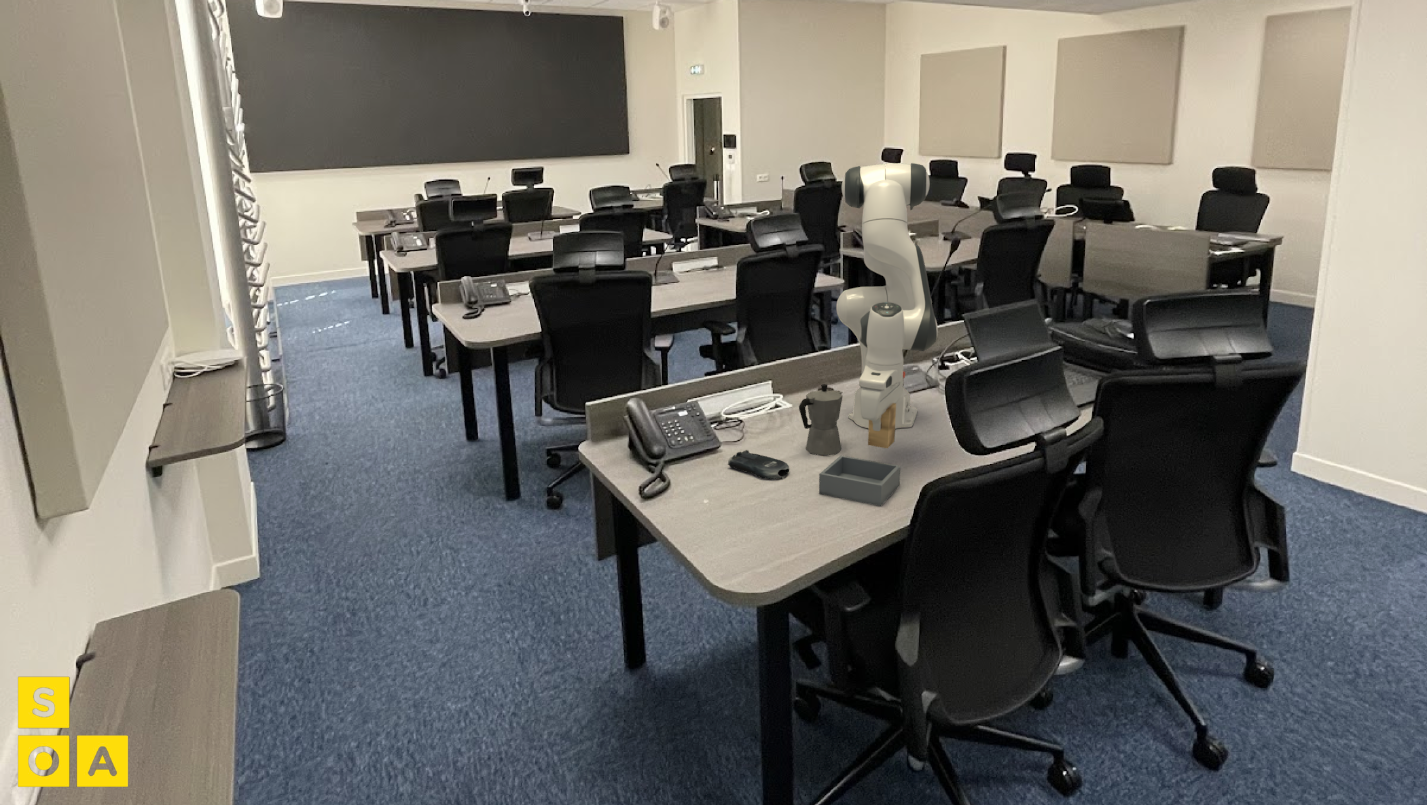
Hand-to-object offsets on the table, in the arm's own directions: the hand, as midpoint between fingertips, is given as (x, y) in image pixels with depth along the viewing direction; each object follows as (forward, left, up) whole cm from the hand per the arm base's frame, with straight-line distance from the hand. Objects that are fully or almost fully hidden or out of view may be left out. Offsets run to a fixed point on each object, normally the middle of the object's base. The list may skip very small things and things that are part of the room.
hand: (881, 425), depth 212 cm
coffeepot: (-4, -18, -11) cm, 22 cm away
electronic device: (+14, -26, -12) cm, 32 cm away
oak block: (0, 0, -5) cm, 5 cm away
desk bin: (+15, 0, -11) cm, 18 cm away
